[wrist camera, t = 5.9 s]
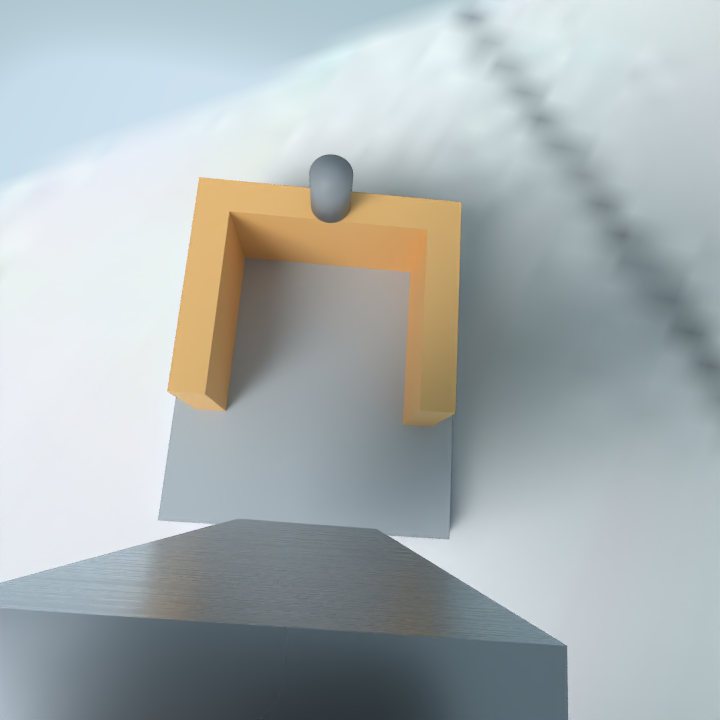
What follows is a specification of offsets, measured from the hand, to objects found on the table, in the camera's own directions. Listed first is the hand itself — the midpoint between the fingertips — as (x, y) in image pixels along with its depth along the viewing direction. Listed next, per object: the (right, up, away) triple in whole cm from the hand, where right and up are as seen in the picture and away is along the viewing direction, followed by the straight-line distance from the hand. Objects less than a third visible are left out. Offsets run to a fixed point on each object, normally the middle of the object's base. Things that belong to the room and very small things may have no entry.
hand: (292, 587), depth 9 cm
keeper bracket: (-1, +3, +14) cm, 15 cm away
